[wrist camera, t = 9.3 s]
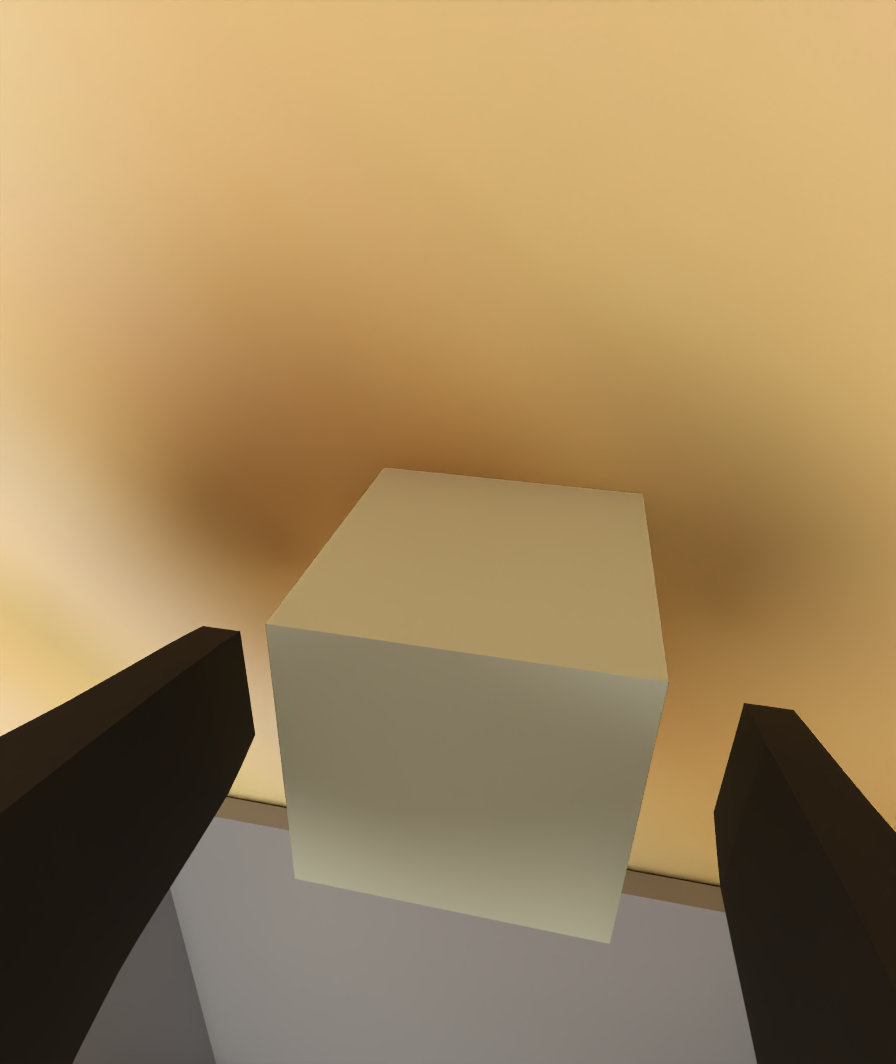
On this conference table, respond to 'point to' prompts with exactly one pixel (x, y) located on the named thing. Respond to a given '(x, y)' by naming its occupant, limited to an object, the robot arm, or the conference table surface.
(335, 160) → the conference table surface
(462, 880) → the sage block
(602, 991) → the open box
